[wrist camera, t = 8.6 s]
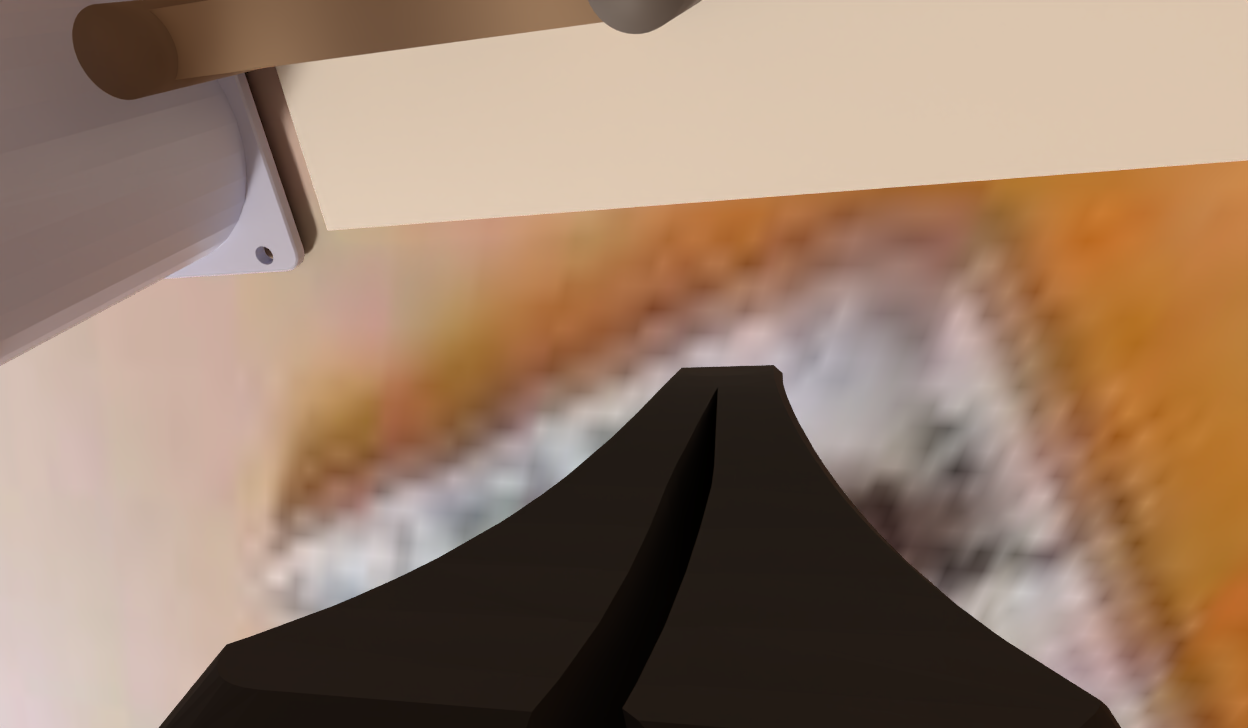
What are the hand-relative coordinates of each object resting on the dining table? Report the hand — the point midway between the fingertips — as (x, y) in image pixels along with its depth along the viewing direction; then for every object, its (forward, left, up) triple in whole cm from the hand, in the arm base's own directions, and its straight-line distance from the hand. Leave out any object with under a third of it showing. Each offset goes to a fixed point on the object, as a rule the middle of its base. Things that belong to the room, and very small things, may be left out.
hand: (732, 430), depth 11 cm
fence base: (-6, +6, -9) cm, 12 cm away
